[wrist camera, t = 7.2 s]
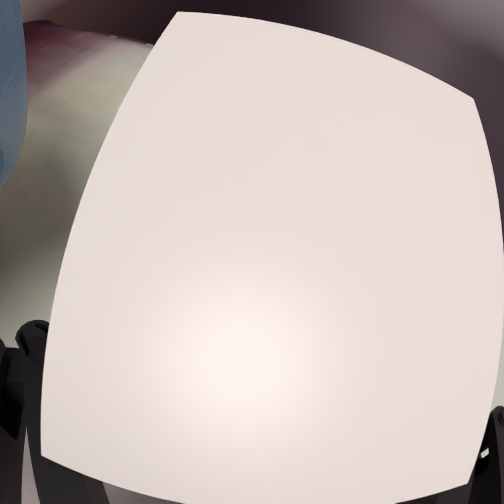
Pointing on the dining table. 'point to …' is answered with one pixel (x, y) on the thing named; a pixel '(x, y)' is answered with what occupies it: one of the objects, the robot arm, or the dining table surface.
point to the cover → (279, 278)
